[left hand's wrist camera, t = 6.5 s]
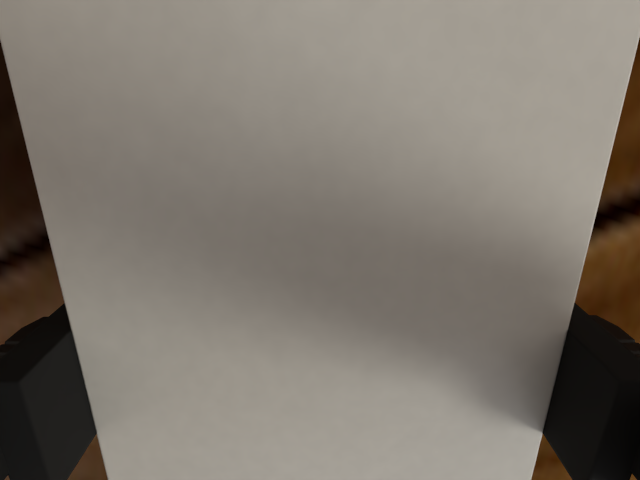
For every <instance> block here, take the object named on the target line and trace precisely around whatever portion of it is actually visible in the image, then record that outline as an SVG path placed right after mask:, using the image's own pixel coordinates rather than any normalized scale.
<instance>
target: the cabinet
mask: <svg viewBox="0 0 640 480" xmlns="http://www.w3.org/2000/svg"><path fill="white" fill-rule="evenodd" d="M639 37H640V0H0V41H1V45H2V49H3V53H4V57H5V61H6V65H7V69H8V73H9V77H10V81H11V86H12V90H13V94H14V98H15V102H16V106H17V110H18V114H19V118H20V122H21V126H22V130H23V135H24V139H25V143H26V147H27V151H28V155H29V159H30V163H31V167H32V171H33V175H34V179H35V184H36V188H37V192H38V196H39V200H40V204H41V208H42V212H43V216H44V220H45V224H46V228H47V233H48V237H49V241H50V245H51V249H52V253H53V257H54V261H55V265H56V269H57V273H58V277H59V282H60V286H61V290H62V294H63V298H64V302H65V306H66V310H67V314H68V318H69V322H70V326H71V331H72V335H73V339H74V343H75V347H76V351H77V355H78V359H79V363H80V367H81V371H82V375H83V380H84V384H85V388H86V392H87V396H88V400H89V404H90V408H91V412H92V416H93V420H94V424H95V429H96V433H97V437H98V441H99V445H100V449H101V453H102V457H103V461H104V465H105V469H106V474H107V478H108V480H531V478H532V474H533V470H534V466H535V462H536V458H537V454H538V449H539V445H540V441H541V437H542V433H543V429H544V425H545V421H546V417H547V413H548V409H549V405H550V400H551V396H552V392H553V388H554V384H555V380H556V376H557V372H558V368H559V364H560V360H561V356H562V351H563V347H564V343H565V339H566V335H567V331H568V327H569V323H570V319H571V315H572V311H573V307H574V302H575V298H576V294H577V290H578V286H579V282H580V278H581V274H582V270H583V266H584V262H585V258H586V253H587V249H588V245H589V241H590V237H591V233H592V229H593V225H594V221H595V217H596V213H597V209H598V205H599V200H600V196H601V192H602V188H603V184H604V180H605V176H606V172H607V168H608V164H609V160H610V156H611V151H612V147H613V143H614V139H615V135H616V131H617V127H618V123H619V119H620V115H621V111H622V107H623V102H624V98H625V94H626V90H627V86H628V82H629V78H630V74H631V70H632V66H633V62H634V58H635V53H636V49H637V45H638V41H639Z"/></svg>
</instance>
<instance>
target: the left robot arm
mask: <svg viewBox="0 0 640 480" xmlns="http://www.w3.org/2000/svg"><path fill="white" fill-rule="evenodd" d="M543 434H544V436H545V437H546V439H547V440H548V442H549V443H550V445H551V447H552V448H553V450H554V451H555V453H556V454H557V456H558V458H559V459H560V461H561V462H562V464H563V465H564V467H565V469H566V470H567V472H568V473H569V475H570V476H571V478H572V479H573V480H630V477H631V474H633V475H634V476H635V477H636V479H637V480H640V344H639V343H635V340H634V339H633V338H632V337H630V336H629V335H628V334H627V333H625V332H624V331H623V330H622V329H621V328H619V327H618V326H616V325H614V324H612V323H610V322H608V321H606V320H604V319H602V318H600V317H598V316H596V315H588V314H587V313H586V312H585V311H583V310H582V309H581V308H580V307H579V306H578V305H576V304H575V303H574V307H573V311H572V315H571V319H570V323H569V327H568V331H567V335H566V339H565V343H564V347H563V351H562V356H561V360H560V364H559V368H558V372H557V376H556V380H555V384H554V388H553V392H552V396H551V400H550V405H549V409H548V413H547V417H546V421H545V425H544V429H543ZM95 435H96V429H95V424H94V420H93V416H92V412H91V408H90V404H89V400H88V396H87V392H86V388H85V384H84V380H83V375H82V371H81V367H80V363H79V359H78V355H77V351H76V347H75V343H74V339H73V335H72V331H71V326H70V322H69V318H68V314H67V310H66V306H65V303H64V304H63V305H62V306H61V307H60V308H58V309H57V310H56V311H55V312H54V313H53V314H51V315H50V316H49V317H42V318H40V319H38V320H37V321H35V322H33V323H31V324H29V325H27V326H25V327H23V328H21V329H20V330H19V331H18V332H16V333H15V334H14V335H13V336H11V337H10V338H9V339H8V340H7V341H5V344H2V345H0V480H4V479H5V478H6V477H7V475H8V476H9V478H10V480H67V479H68V477H69V476H70V474H71V472H72V471H73V469H74V468H75V466H76V465H77V463H78V461H79V460H80V458H81V457H82V455H83V454H84V452H85V451H86V449H87V447H88V446H89V444H90V443H91V441H92V440H93V438H94V436H95Z"/></svg>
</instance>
